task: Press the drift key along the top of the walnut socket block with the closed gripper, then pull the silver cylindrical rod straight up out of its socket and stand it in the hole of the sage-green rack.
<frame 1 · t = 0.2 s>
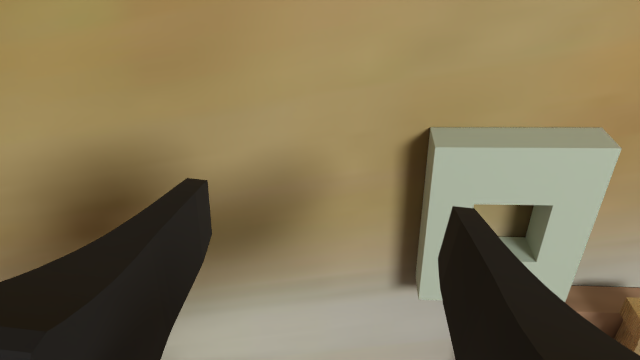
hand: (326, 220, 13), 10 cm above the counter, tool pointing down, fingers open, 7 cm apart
drift key: (636, 356, 25), point 3 cm above the counter, slide at 0.0 cm
socket block: (548, 339, 30), on the counter
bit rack: (496, 210, 25), on the counter
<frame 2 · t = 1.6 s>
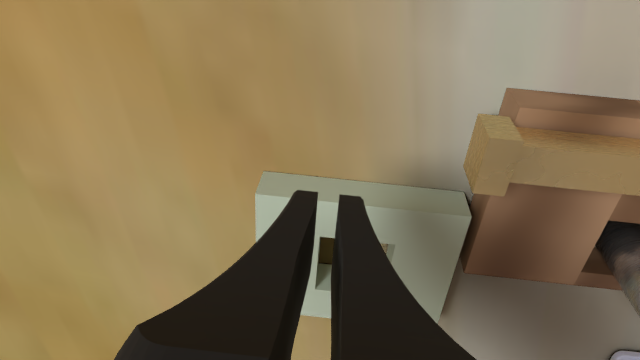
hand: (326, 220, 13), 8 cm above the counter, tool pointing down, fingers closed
silver cylindrical rod: (609, 223, 23), resting in socket block
drift key: (568, 162, 17), point 3 cm above the counter, slide at 0.0 cm
socket block: (584, 186, 22), on the counter
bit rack: (354, 242, 25), on the counter
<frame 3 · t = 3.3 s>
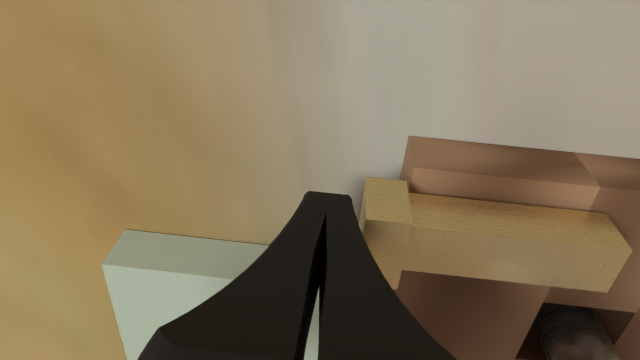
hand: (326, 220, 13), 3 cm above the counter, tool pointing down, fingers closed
silver cylindrical rod: (553, 295, 18), resting in socket block
drift key: (484, 243, 13), point 3 cm above the counter, slide at 0.2 cm, touching gripper
socket block: (519, 253, 17), on the counter
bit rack: (249, 310, 20), on the counter
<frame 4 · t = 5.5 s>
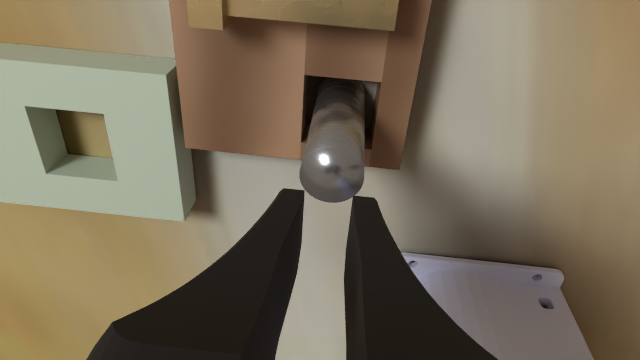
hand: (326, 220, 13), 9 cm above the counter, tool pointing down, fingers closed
silver cylindrical rod: (341, 95, 21), resting in socket block
socket block: (300, 49, 20), on the counter
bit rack: (94, 126, 23), on the counter
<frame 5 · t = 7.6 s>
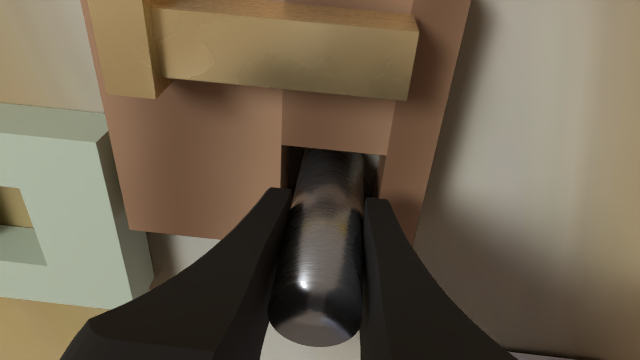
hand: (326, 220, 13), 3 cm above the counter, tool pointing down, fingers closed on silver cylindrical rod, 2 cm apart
silver cylindrical rod: (333, 161, 16), resting in socket block, touching gripper
drift key: (261, 45, 11), point 3 cm above the counter, slide at 3.1 cm
socket block: (279, 104, 15), on the counter
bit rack: (20, 193, 18), on the counter
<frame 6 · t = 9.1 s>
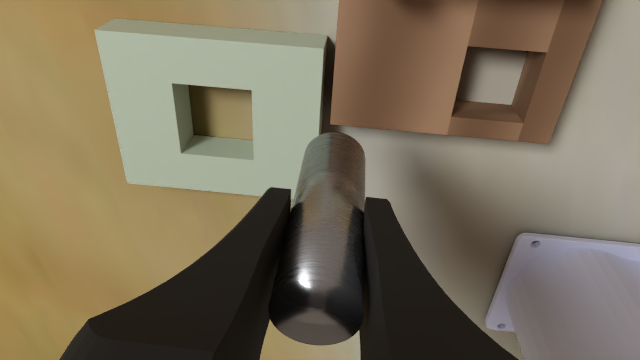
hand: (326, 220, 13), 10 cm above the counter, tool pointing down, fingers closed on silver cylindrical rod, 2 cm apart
silver cylindrical rod: (334, 159, 16), point 7 cm above the counter, touching gripper
socket block: (452, 22, 20), on the counter
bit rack: (225, 106, 23), on the counter
when the fingers open (4 cm above the counter, at t = 10.9 s): silver cylindrical rod drops 1 cm, resting in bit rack.
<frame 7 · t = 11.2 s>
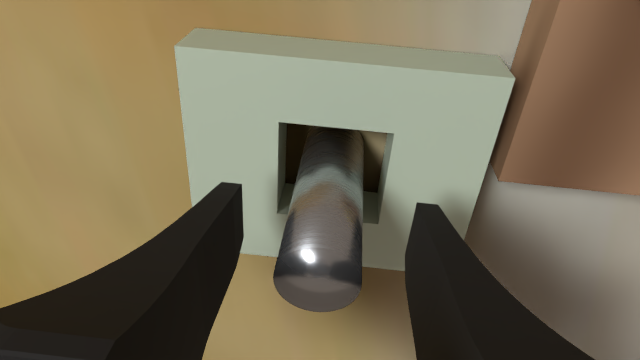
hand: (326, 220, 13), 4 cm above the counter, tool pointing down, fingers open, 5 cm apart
silver cylindrical rod: (334, 145, 17), resting in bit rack
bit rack: (335, 147, 17), on the counter
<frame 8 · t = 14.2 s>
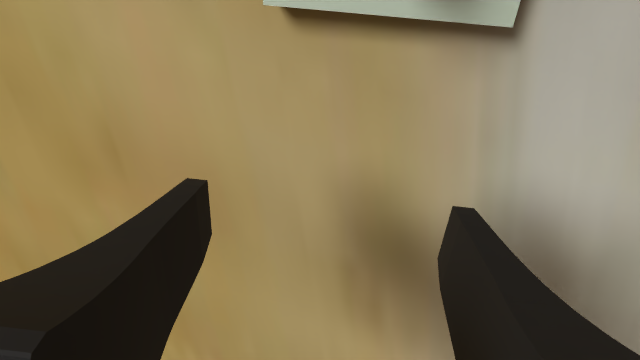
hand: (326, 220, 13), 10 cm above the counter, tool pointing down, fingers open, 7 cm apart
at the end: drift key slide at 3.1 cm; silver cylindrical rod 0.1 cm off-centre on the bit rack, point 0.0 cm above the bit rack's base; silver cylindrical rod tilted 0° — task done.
